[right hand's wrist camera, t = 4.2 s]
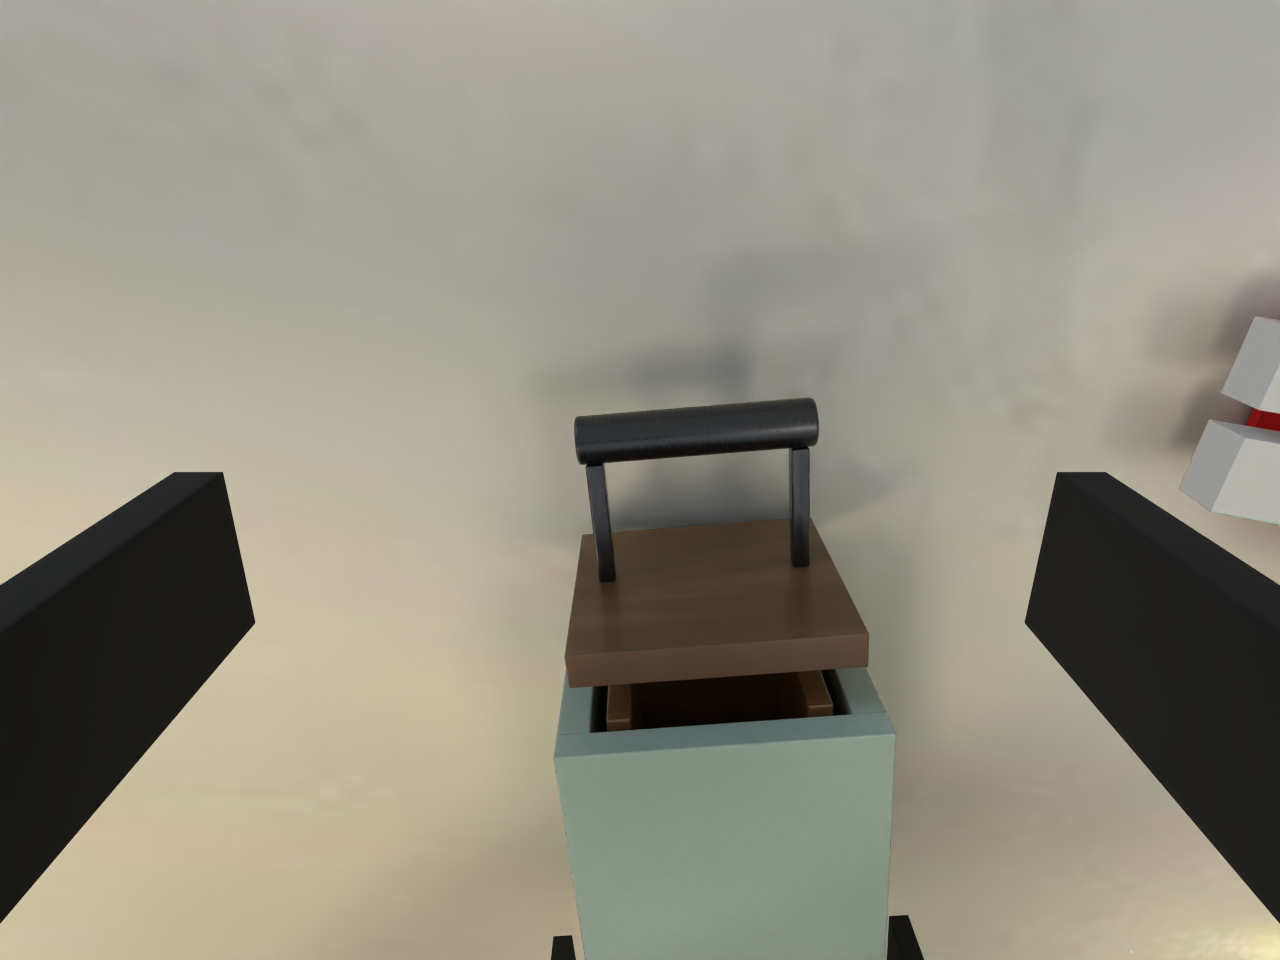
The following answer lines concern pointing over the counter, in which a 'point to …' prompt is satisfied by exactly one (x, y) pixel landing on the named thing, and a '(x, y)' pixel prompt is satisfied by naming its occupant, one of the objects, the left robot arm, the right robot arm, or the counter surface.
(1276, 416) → the toy
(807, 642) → the drawer
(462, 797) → the counter surface
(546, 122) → the counter surface
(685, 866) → the sage green rectangular box
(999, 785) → the counter surface
